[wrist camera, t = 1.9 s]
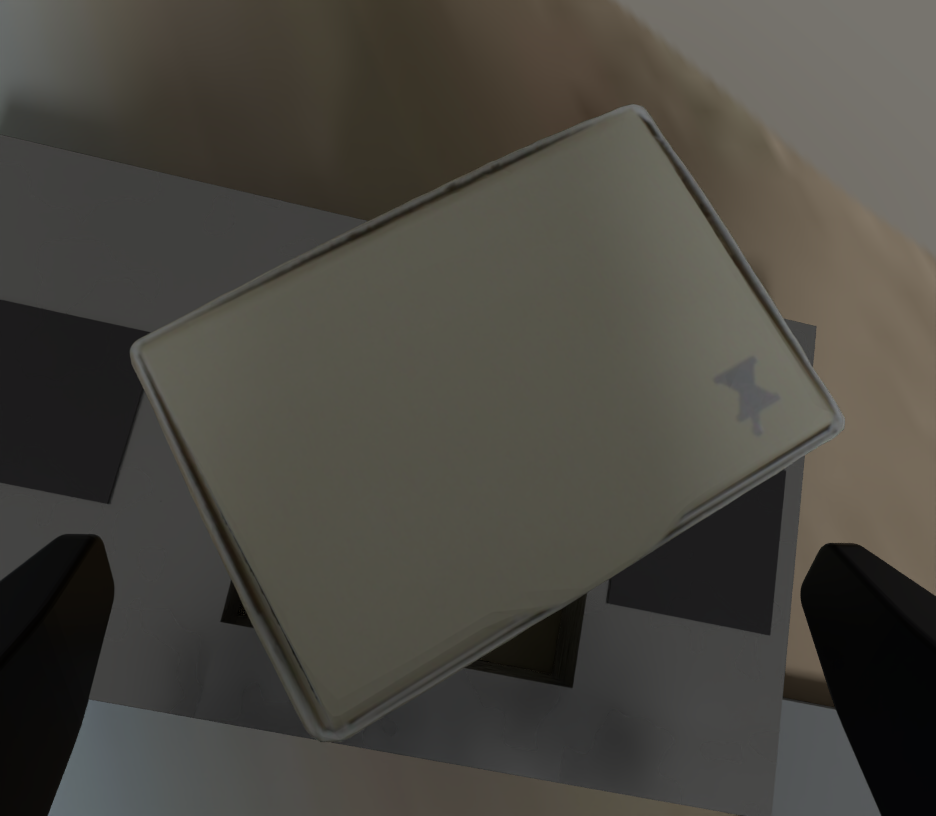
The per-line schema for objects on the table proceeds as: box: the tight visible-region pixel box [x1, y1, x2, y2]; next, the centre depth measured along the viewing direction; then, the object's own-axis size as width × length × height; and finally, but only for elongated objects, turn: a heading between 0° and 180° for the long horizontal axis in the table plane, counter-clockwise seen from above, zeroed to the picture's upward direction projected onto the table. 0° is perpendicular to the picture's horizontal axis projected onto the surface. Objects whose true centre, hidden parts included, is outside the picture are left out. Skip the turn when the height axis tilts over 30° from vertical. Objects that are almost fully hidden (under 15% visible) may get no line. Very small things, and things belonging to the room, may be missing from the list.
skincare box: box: [130, 104, 845, 742], centre depth 13 cm, size 6×4×12 cm
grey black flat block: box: [0, 135, 817, 816], centre depth 18 cm, size 12×22×2 cm, turn 79°
